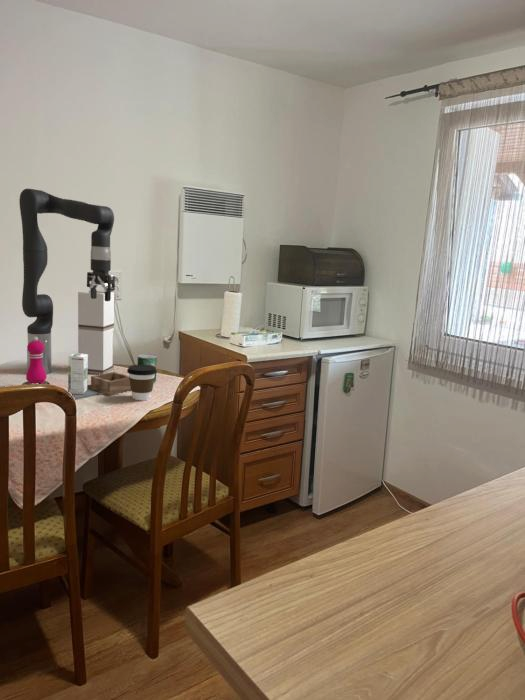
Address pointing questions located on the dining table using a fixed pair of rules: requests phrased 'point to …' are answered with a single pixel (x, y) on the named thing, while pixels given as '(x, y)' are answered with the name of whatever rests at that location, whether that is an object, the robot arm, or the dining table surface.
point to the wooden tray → (110, 383)
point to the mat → (85, 394)
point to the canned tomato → (148, 360)
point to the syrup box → (77, 373)
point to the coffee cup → (141, 381)
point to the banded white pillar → (96, 331)
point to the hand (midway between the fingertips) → (100, 299)
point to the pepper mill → (35, 362)
